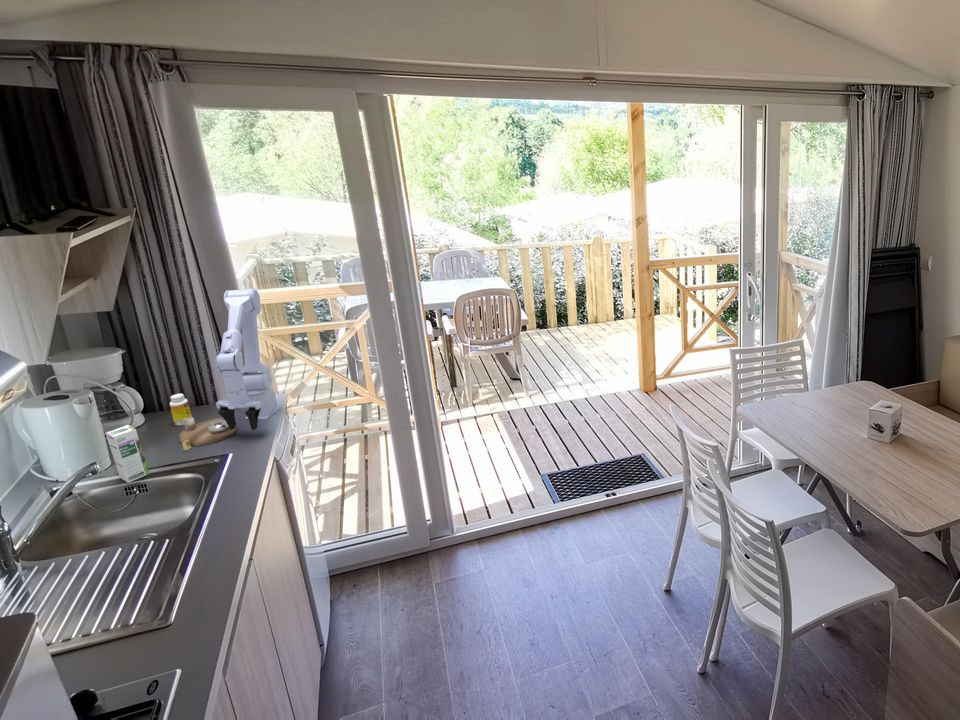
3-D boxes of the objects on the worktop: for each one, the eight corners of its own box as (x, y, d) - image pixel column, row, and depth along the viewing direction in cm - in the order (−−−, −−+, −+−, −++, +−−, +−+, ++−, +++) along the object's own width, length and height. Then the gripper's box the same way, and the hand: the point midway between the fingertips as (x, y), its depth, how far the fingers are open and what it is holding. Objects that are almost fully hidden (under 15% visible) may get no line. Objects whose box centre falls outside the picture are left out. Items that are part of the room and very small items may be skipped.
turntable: (248, 423, 182) (245, 409, 180) (215, 447, 166) (212, 432, 164) (203, 421, 185) (200, 408, 183) (168, 445, 169) (164, 430, 168)
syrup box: (128, 483, 149) (113, 436, 144) (119, 477, 152) (104, 431, 148) (149, 474, 153) (136, 428, 148) (140, 468, 156) (127, 423, 152)
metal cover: (216, 425, 178) (215, 419, 177) (233, 425, 177) (231, 420, 176) (205, 433, 172) (203, 427, 171) (221, 434, 171) (220, 428, 170)
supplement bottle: (191, 424, 184) (183, 397, 181) (173, 427, 183) (165, 399, 180) (194, 418, 190) (187, 391, 186) (177, 421, 188) (169, 394, 185)
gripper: (206, 393, 166) (216, 433, 170) (248, 394, 163) (257, 434, 167) (220, 385, 172) (229, 423, 177) (261, 385, 169) (269, 424, 174)
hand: (244, 428), depth 172 cm, fingers open, 7 cm apart
